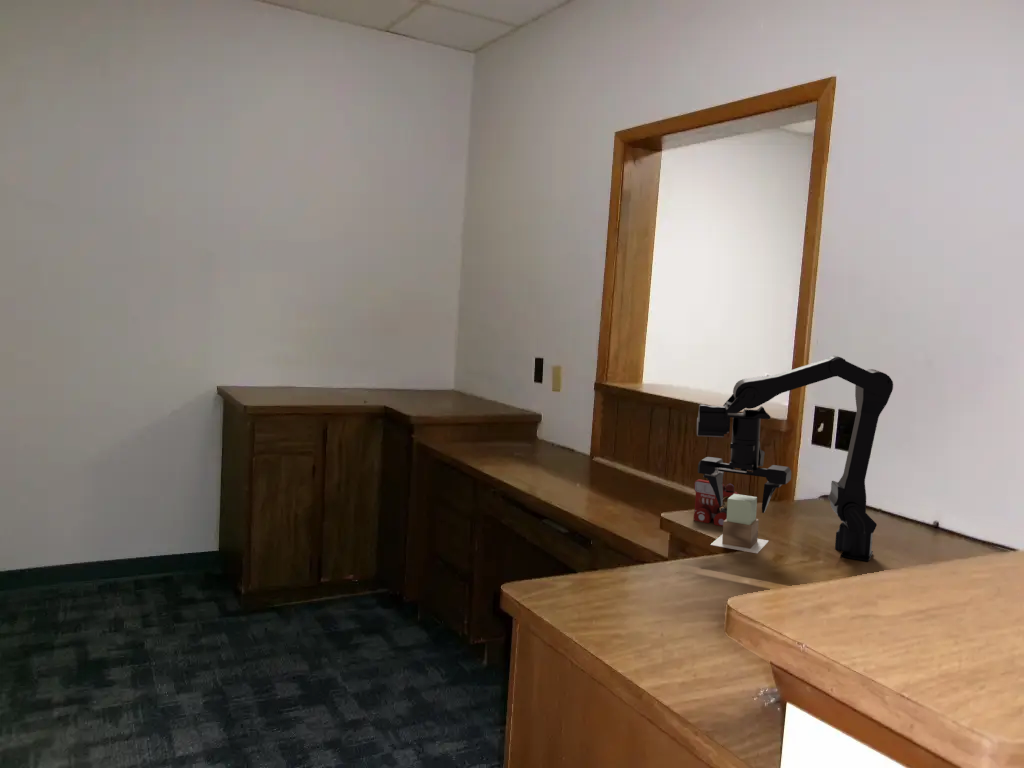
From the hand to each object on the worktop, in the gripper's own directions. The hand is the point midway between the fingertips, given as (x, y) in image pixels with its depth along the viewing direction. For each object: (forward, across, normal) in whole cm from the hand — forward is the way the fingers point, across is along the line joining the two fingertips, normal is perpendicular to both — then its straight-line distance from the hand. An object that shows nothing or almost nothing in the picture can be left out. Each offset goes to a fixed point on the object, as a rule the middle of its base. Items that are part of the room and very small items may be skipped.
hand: (741, 509), depth 173 cm
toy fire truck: (+9, +9, -14) cm, 18 cm away
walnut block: (+8, 0, 0) cm, 8 cm away
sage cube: (+2, 0, 0) cm, 2 cm away
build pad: (+8, 0, 0) cm, 8 cm away
